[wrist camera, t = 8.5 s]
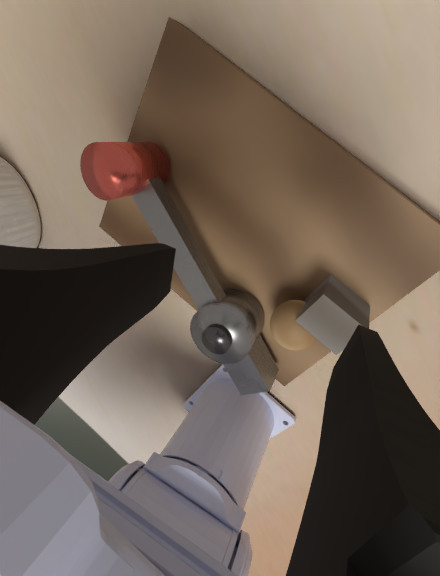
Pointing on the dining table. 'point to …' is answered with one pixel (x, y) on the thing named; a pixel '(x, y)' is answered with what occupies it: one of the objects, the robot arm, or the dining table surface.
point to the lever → (185, 260)
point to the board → (274, 205)
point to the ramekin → (17, 210)
